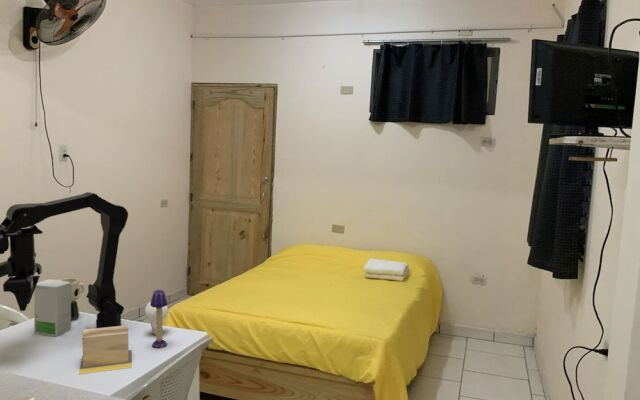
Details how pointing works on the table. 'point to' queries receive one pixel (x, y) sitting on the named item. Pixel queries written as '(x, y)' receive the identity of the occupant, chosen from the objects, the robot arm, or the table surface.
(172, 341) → the table surface
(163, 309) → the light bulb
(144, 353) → the table surface
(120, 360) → the pine block
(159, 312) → the toy lamp
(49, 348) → the table surface
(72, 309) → the character mug
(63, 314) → the skincare box
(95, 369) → the gray board
